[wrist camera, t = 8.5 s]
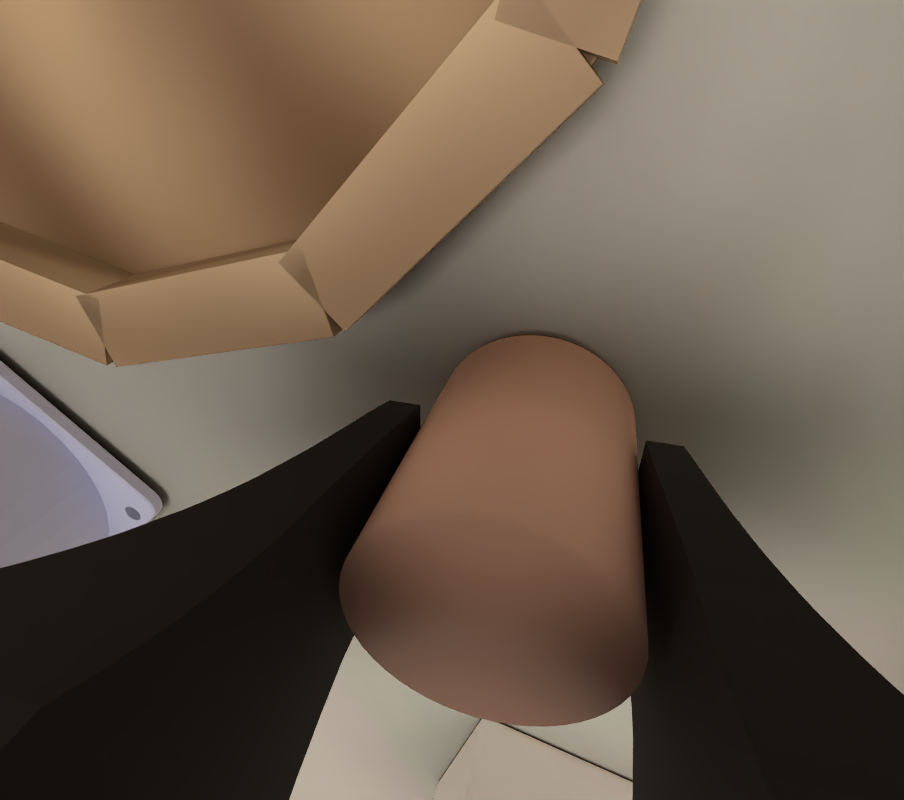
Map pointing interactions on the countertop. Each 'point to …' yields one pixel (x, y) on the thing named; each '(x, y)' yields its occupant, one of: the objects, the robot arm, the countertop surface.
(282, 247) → the tray
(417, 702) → the countertop surface
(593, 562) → the bead terracotta
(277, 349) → the countertop surface
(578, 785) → the milk
